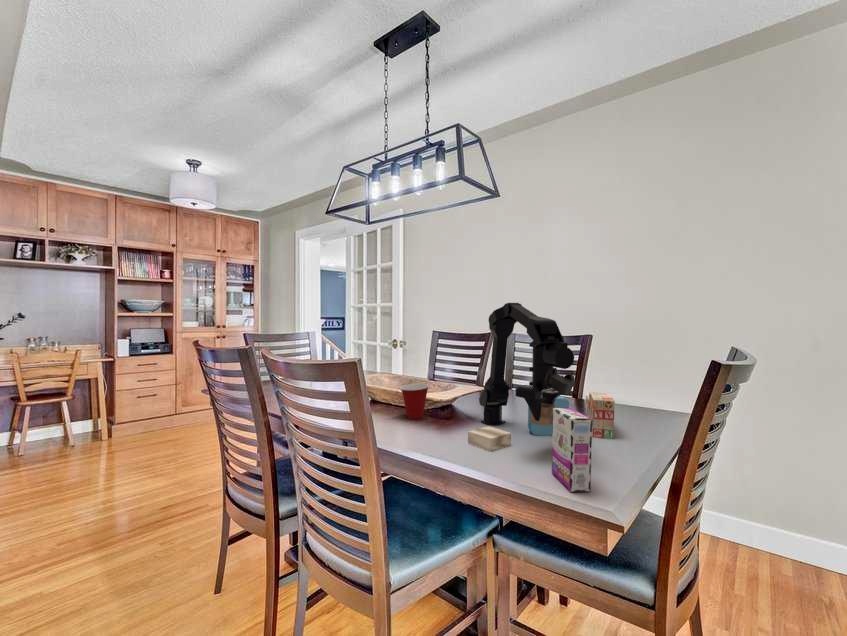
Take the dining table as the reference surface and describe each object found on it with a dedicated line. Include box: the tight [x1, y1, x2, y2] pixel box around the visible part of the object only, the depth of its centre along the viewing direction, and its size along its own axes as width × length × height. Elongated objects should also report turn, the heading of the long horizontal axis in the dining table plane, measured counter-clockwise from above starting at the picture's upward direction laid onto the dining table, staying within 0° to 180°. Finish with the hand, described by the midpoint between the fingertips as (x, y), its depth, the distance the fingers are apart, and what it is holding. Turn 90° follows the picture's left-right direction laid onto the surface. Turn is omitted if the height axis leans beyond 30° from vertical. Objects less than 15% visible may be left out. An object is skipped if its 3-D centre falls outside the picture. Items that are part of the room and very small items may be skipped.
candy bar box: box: [551, 407, 593, 493], centre depth 98 cm, size 11×5×16 cm, turn 5°
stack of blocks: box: [585, 391, 615, 440], centre depth 142 cm, size 21×6×12 cm, turn 164°
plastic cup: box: [399, 383, 430, 420], centre depth 156 cm, size 11×11×12 cm
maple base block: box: [467, 425, 512, 452], centre depth 126 cm, size 9×9×4 cm
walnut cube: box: [530, 403, 555, 426], centre depth 119 cm, size 5×5×5 cm
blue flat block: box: [527, 395, 570, 436], centre depth 137 cm, size 12×4×12 cm, turn 91°
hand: (542, 419), depth 119 cm, fingers closed on walnut cube, 5 cm apart
